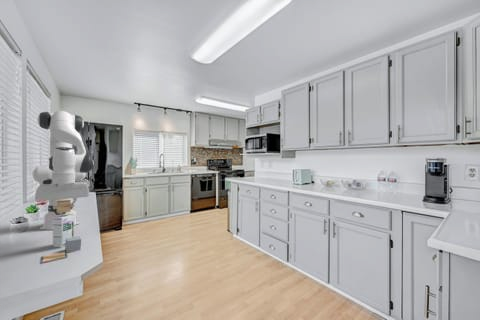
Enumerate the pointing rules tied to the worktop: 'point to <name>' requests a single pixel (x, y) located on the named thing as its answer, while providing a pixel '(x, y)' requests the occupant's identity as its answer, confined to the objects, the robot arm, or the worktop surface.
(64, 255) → the tile
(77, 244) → the slate cube
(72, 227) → the syrup box
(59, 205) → the oak cube
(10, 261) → the worktop surface
